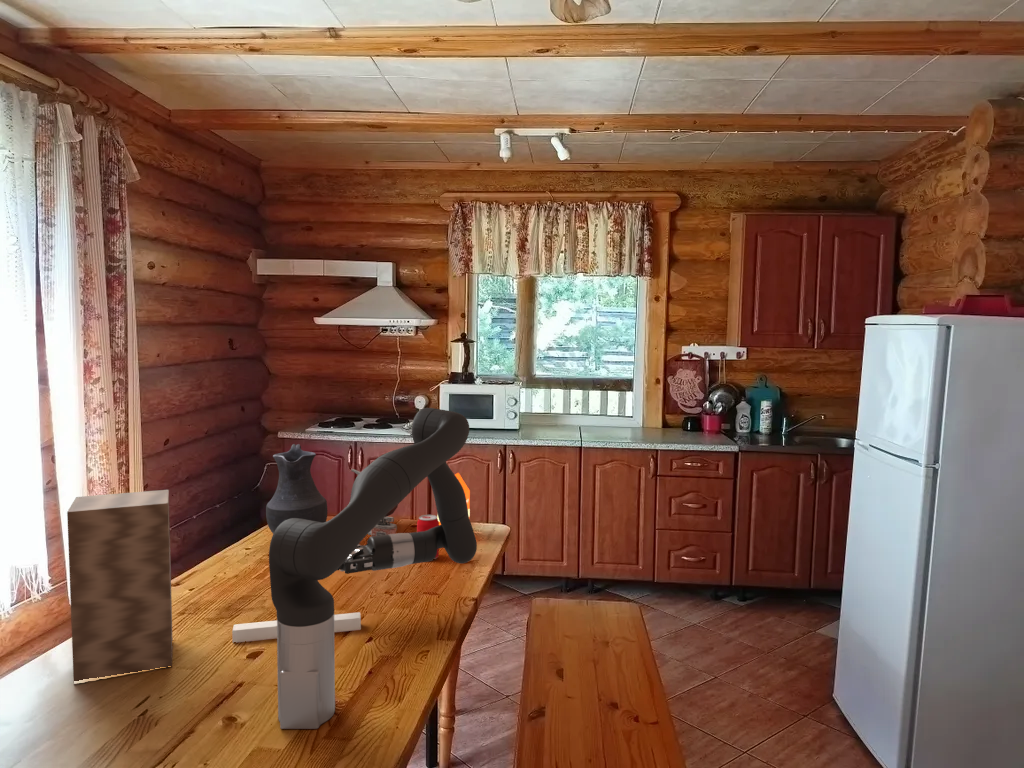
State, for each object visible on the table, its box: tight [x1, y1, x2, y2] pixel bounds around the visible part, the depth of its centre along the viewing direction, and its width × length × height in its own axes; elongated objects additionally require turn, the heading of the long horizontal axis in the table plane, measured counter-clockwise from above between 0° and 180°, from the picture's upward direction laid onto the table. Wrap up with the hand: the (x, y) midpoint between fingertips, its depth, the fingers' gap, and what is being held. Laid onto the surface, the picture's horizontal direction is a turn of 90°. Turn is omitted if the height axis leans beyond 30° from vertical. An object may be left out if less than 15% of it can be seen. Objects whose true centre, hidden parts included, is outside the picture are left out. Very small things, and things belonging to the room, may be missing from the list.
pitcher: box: [265, 443, 328, 535], centre depth 204 cm, size 17×21×30 cm
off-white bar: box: [231, 612, 362, 644], centre depth 146 cm, size 26×3×3 cm, turn 106°
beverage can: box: [416, 514, 440, 560], centre depth 195 cm, size 6×6×12 cm
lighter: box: [370, 516, 397, 537], centre depth 203 cm, size 8×3×10 cm, turn 73°
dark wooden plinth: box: [66, 489, 174, 682], centre depth 132 cm, size 16×12×32 cm
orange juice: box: [436, 472, 471, 525], centre depth 215 cm, size 8×9×20 cm
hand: (317, 560), depth 148 cm, fingers open, 8 cm apart
